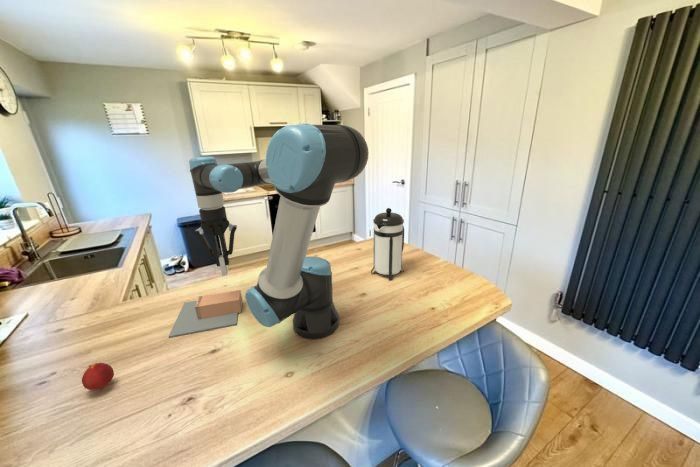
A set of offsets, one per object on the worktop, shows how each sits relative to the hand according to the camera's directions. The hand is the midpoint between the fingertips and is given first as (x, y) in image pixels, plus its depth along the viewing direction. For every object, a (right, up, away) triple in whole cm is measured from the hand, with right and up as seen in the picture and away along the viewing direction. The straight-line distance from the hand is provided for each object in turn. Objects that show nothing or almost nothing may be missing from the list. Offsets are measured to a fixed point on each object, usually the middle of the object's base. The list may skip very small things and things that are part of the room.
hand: (225, 273), depth 97 cm
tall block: (+3, -10, +5) cm, 12 cm away
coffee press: (+61, -4, +31) cm, 68 cm away
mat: (-7, -15, +3) cm, 17 cm away
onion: (-19, -25, -26) cm, 41 cm away
